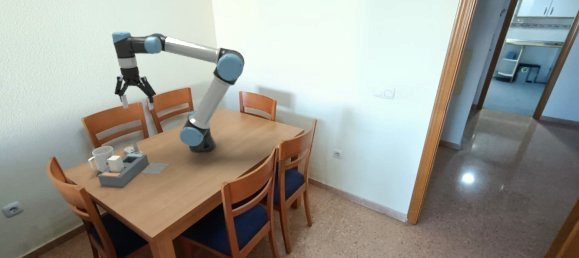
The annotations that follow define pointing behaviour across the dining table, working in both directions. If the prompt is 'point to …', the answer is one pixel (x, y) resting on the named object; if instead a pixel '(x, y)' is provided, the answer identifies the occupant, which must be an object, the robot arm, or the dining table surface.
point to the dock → (124, 171)
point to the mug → (101, 157)
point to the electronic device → (133, 149)
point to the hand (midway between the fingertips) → (138, 108)
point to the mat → (154, 168)
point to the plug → (115, 164)
